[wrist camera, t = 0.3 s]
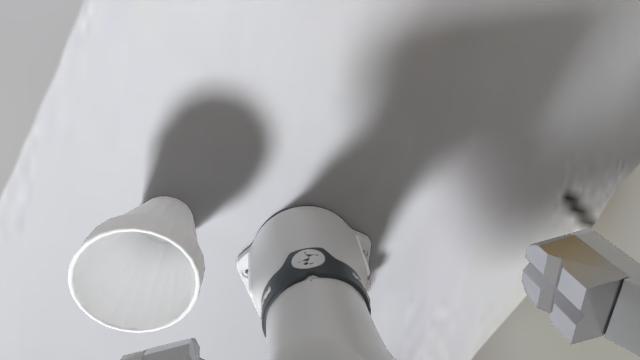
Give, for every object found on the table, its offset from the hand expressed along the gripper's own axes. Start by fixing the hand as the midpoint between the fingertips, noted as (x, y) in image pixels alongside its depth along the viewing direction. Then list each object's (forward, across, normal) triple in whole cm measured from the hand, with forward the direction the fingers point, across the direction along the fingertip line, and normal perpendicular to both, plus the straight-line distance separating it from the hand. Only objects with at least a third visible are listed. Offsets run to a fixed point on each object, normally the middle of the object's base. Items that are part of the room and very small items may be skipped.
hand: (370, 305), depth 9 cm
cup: (+39, -16, -20) cm, 47 cm away
